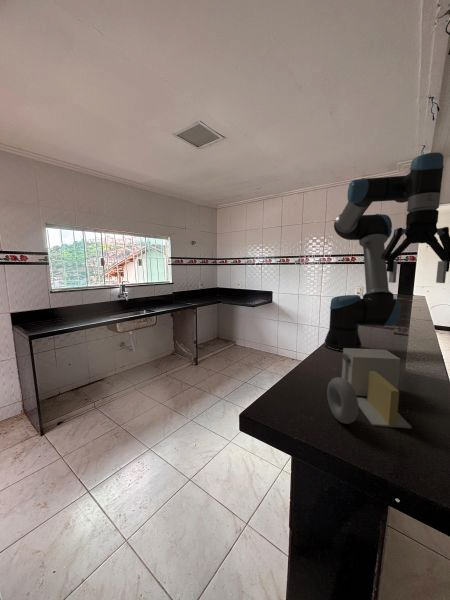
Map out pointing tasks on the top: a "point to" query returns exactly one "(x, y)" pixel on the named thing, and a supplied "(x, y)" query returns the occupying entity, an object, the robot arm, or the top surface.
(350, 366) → the large beige block
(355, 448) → the top surface
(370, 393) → the yellow rectangular slab
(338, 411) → the donut
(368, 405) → the mat
